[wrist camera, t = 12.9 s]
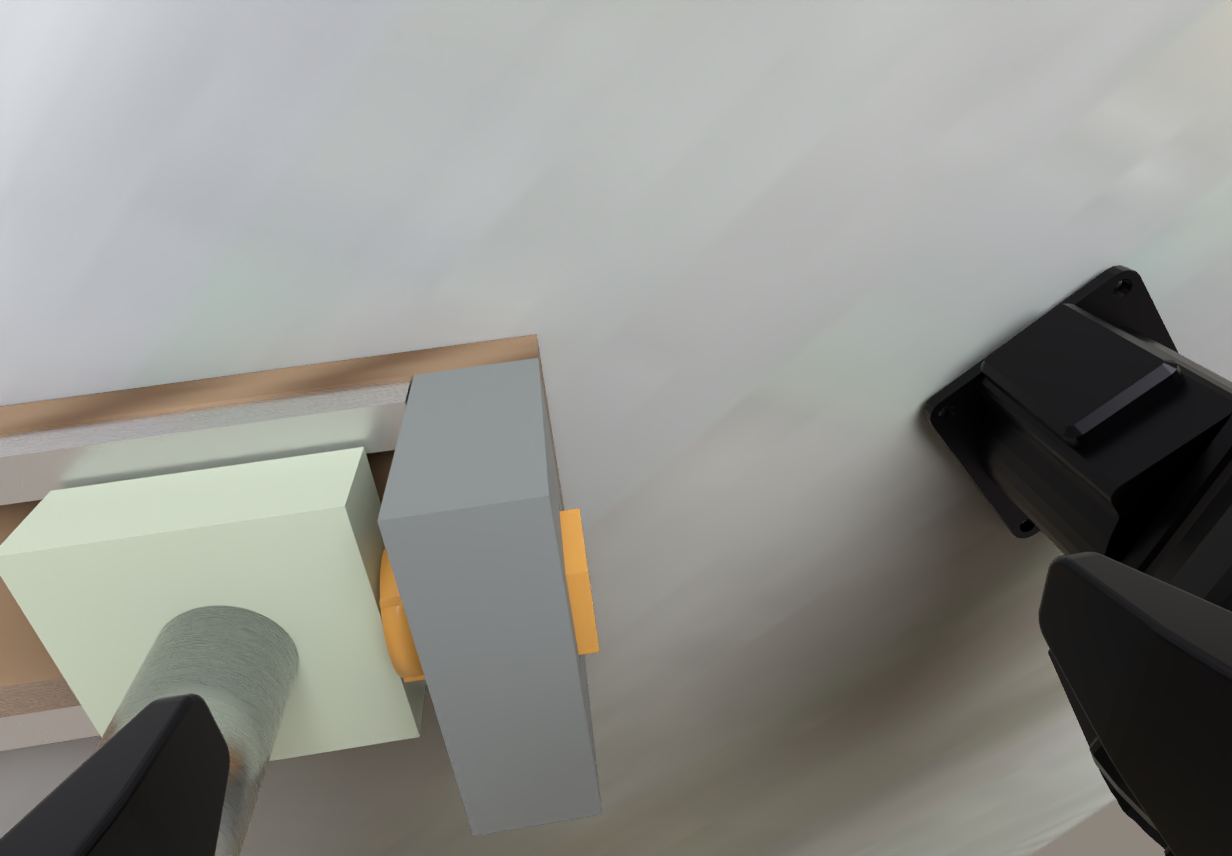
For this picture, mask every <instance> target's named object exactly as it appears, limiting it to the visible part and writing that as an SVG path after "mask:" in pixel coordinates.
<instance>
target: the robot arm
mask: <svg viewBox="0 0 1232 856" xmlns="http://www.w3.org/2000/svg"><path fill="white" fill-rule="evenodd" d="M1121 280H1122V283H1121V286H1120V287H1119V288H1118V289H1117V290H1115V291H1114V288H1115V285H1116V284H1117V283H1118V282H1119V281H1121ZM945 407H949V408H948V411H947V412H946V413H945V414H943V415H941V416H939V412H940V411H941V410H942V409H943V408H945ZM924 416H925V418H926V420H927V421H928V422H929V424H930V425H931V426H932V428H933V429H934V430H935V432H936V433H937V434H938V436H939V437H940V438H941V440H942V441H943V442H944V444H945V445H946V446H947V448H948V449H949V451H950V452H951V453H952V455H953V456H954V457H955V459H956V460H957V461H958V463H959V464H960V465H961V467H962V468H963V469H964V471H965V472H966V473H967V475H968V476H969V477H970V479H971V480H972V481H973V483H974V484H975V485H976V487H977V488H978V489H979V491H980V492H981V493H982V495H983V496H984V497H985V499H986V500H987V501H988V503H989V504H990V505H991V507H992V508H993V510H994V511H995V512H996V514H997V515H998V516H999V518H1000V519H1001V520H1002V522H1003V523H1004V524H1005V526H1006V527H1007V528H1008V529H1009V530H1010V531H1011V532H1012V533H1013V535H1015V536H1016V537H1018V538H1027V537H1030V536H1032V535H1034V534H1036V533H1037V532H1039V531H1040V530H1041V531H1042V532H1043V533H1044V534H1045V535H1046V536H1047V537H1048V538H1049V539H1050V540H1051V541H1052V542H1053V543H1054V544H1055V545H1056V546H1057V547H1058V548H1059V549H1060V550H1061V551H1062V552H1063V553H1064V554H1065V555H1062V556H1059V557H1056V558H1055V559H1054V560H1053V561H1052V562H1051V563H1050V566H1049V569H1048V573H1047V577H1046V582H1045V586H1044V591H1043V595H1042V599H1041V604H1040V608H1039V625H1040V629H1041V632H1042V634H1043V636H1044V639H1045V640H1046V642H1047V644H1048V646H1049V648H1050V650H1049V651H1048V653H1049V656H1050V658H1051V660H1052V663H1053V665H1054V667H1055V670H1056V672H1057V674H1058V676H1059V679H1060V681H1061V683H1062V685H1063V688H1064V690H1065V692H1066V695H1067V697H1068V699H1069V701H1070V704H1071V706H1072V708H1073V711H1074V713H1075V715H1076V717H1077V720H1078V722H1079V724H1080V726H1081V729H1082V731H1083V733H1084V736H1085V738H1086V740H1087V742H1088V745H1089V747H1090V751H1091V754H1092V757H1093V759H1094V762H1095V764H1096V765H1097V766H1098V768H1099V770H1100V772H1101V774H1102V776H1103V778H1104V780H1105V782H1106V783H1107V785H1108V787H1109V789H1110V791H1111V792H1112V794H1113V795H1114V796H1115V798H1116V799H1117V801H1118V803H1119V805H1120V807H1121V808H1122V810H1123V811H1124V812H1125V813H1126V814H1127V815H1128V816H1129V817H1130V818H1132V819H1133V820H1134V821H1135V822H1136V823H1137V824H1138V825H1139V826H1140V827H1141V828H1142V829H1143V830H1144V831H1145V832H1146V833H1147V834H1148V835H1149V836H1150V837H1152V838H1153V839H1154V840H1155V841H1156V842H1157V843H1158V844H1160V845H1161V846H1162V847H1163V848H1164V849H1165V851H1164V852H1165V856H1232V382H1230V381H1229V380H1227V379H1225V378H1223V377H1221V376H1219V375H1217V374H1216V373H1214V372H1212V371H1210V370H1208V369H1206V368H1204V367H1203V366H1201V365H1199V364H1197V363H1195V362H1193V361H1191V360H1190V359H1188V358H1186V357H1184V356H1182V355H1180V354H1179V353H1178V351H1177V349H1176V347H1175V345H1174V343H1173V341H1172V339H1171V337H1170V335H1169V333H1168V331H1167V329H1166V327H1165V325H1164V323H1163V321H1162V319H1161V317H1160V315H1159V313H1158V311H1157V309H1156V307H1155V305H1154V303H1153V301H1152V299H1151V297H1150V295H1149V293H1148V291H1147V289H1146V287H1145V285H1144V283H1143V281H1142V279H1141V277H1140V275H1139V274H1138V273H1137V272H1136V271H1134V270H1132V269H1129V268H1127V267H1124V266H1121V265H1119V266H1113V267H1111V268H1109V269H1107V270H1106V271H1104V272H1103V273H1101V274H1100V275H1099V276H1097V277H1096V278H1095V279H1093V280H1092V281H1090V282H1089V283H1088V284H1086V285H1085V286H1084V287H1082V288H1081V289H1080V290H1078V291H1077V292H1075V293H1074V294H1073V295H1071V296H1070V297H1069V298H1067V299H1066V300H1064V301H1063V302H1062V303H1060V304H1059V305H1058V306H1056V307H1055V308H1053V309H1052V310H1051V311H1049V312H1048V313H1047V314H1045V315H1044V316H1042V317H1041V318H1040V319H1038V320H1037V321H1036V322H1034V323H1033V324H1031V325H1030V326H1029V327H1027V328H1026V329H1025V330H1023V331H1022V332H1021V333H1019V334H1018V335H1016V336H1015V337H1014V338H1012V339H1011V340H1010V341H1008V342H1007V343H1005V344H1004V345H1003V346H1001V347H1000V348H999V349H997V350H996V351H994V352H993V353H992V354H990V355H989V356H988V357H986V358H985V359H983V360H982V361H981V362H979V363H978V364H977V365H975V366H974V367H972V368H971V369H970V370H968V371H967V372H966V373H964V374H963V375H962V376H960V377H959V378H957V379H956V380H955V381H953V382H952V383H951V384H949V385H948V386H946V387H945V388H944V389H942V390H941V391H940V392H938V393H937V394H935V395H934V396H933V397H932V398H931V399H930V400H929V401H928V402H927V403H926V405H925V407H924ZM1025 520H1026V521H1025ZM1023 521H1025V522H1024V523H1022V522H1023ZM1021 523H1022V524H1021ZM229 770H230V753H229V749H228V745H227V743H226V741H225V739H224V737H223V735H222V733H221V731H220V729H219V727H218V725H217V723H216V721H215V719H214V717H213V715H212V713H211V711H210V709H209V707H208V705H207V704H206V702H205V700H204V699H203V698H202V697H201V696H200V695H198V694H193V693H188V694H182V695H176V696H169V697H163V698H159V699H156V700H154V701H152V702H151V703H149V704H148V705H147V706H146V707H144V708H143V709H142V710H141V711H140V712H139V713H138V714H137V715H136V716H135V717H134V718H132V719H131V720H130V721H129V722H128V723H127V724H126V725H125V726H124V727H123V728H121V729H120V730H119V731H118V732H117V733H116V734H115V735H114V736H113V737H112V738H111V739H109V740H108V741H107V742H106V743H105V744H104V745H103V746H102V747H101V748H100V749H98V750H97V751H96V752H95V753H94V754H93V755H92V756H91V757H90V758H89V759H88V760H86V761H85V762H84V763H83V764H82V765H81V766H80V767H79V768H78V769H77V770H75V771H74V772H73V773H72V774H71V775H70V776H69V777H68V778H67V779H66V780H64V781H63V782H62V783H61V784H60V785H59V786H58V787H57V788H56V789H55V790H54V791H52V792H51V793H50V794H49V795H48V796H47V797H46V798H45V799H44V800H43V801H41V802H40V803H39V804H38V805H37V806H36V807H35V808H34V809H33V810H32V811H31V812H29V813H28V814H27V815H26V816H25V817H24V818H23V819H22V820H21V821H20V822H18V823H17V824H16V825H15V826H14V827H13V828H12V829H11V830H10V831H9V832H8V833H6V834H5V835H4V836H3V837H2V838H1V839H0V856H215V852H216V846H217V841H218V835H219V829H220V823H221V817H222V811H223V805H224V800H225V794H226V788H227V782H228V776H229Z"/></svg>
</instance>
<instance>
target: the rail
mask: <svg viewBox="0 0 1232 856" xmlns="http://www.w3.org/2000/svg"><path fill="white" fill-rule="evenodd" d="M359 447H364V449H365V452H366V456H367V459H368V462H369V466H370V469H371V473H372V476H373V479H374V483H375V486H376V489H377V493H378V496H379V499H380V503H381V508H380V512H379V516H378V520H377V522H378V525H379V528H380V531H381V535H382V538H383V541H384V545H385V548H386V551H387V555H388V558H389V561H390V564H391V568H392V571H393V574H394V578H395V581H396V584H397V587H398V591H399V594H400V597H401V601H402V604H403V607H404V610H405V614H406V617H407V620H408V624H409V627H410V630H411V634H412V637H413V640H414V643H415V647H416V650H417V653H418V657H419V660H420V663H421V666H422V670H423V673H424V676H425V680H426V684H427V686H428V689H429V693H430V696H431V699H432V703H433V706H434V709H435V713H436V716H437V719H438V722H439V726H440V729H441V732H442V736H443V739H444V742H445V745H446V749H447V752H448V755H449V759H450V762H451V765H452V768H453V772H454V775H455V778H456V782H457V785H458V788H459V791H460V795H461V798H462V801H463V805H464V808H465V811H466V815H467V818H468V821H469V824H470V828H471V831H472V834H473V836H478V835H484V834H489V833H495V832H501V831H507V830H513V829H519V828H525V827H531V826H537V825H543V824H548V823H554V822H560V821H566V820H572V819H578V818H584V817H590V816H596V815H602V809H601V800H600V791H599V782H598V773H597V765H596V756H595V747H594V738H593V729H592V720H591V711H590V702H589V693H588V684H587V675H586V666H585V657H584V654H583V655H579V653H578V647H577V641H576V635H575V629H574V622H573V616H572V610H571V604H570V598H569V592H568V586H567V580H566V574H565V564H564V553H563V543H562V532H561V522H560V511H564V506H563V500H562V494H561V487H560V481H559V475H558V468H557V462H556V455H555V449H554V443H553V436H552V430H551V424H550V417H549V411H548V404H547V398H546V392H545V385H544V379H543V372H542V366H541V360H540V353H539V347H538V341H537V334H536V335H529V336H521V337H514V338H506V339H499V340H491V341H484V342H477V343H469V344H462V345H454V346H447V347H439V348H432V349H424V350H417V351H410V352H402V353H395V354H387V355H380V356H372V357H365V358H357V359H350V360H342V361H335V362H328V363H320V364H313V365H305V366H298V367H290V368H283V369H275V370H268V371H261V372H253V373H246V374H238V375H231V376H223V377H216V378H208V379H201V380H194V381H186V382H179V383H171V384H164V385H156V386H149V387H141V388H134V389H127V390H119V391H112V392H104V393H97V394H89V395H82V396H74V397H67V398H59V399H52V400H45V401H37V402H30V403H22V404H15V405H7V406H0V545H1V544H2V543H3V542H4V541H5V540H6V539H7V538H8V536H9V535H10V534H11V533H12V532H13V531H14V530H15V529H16V528H17V527H18V526H19V525H20V524H21V522H22V521H23V520H24V519H25V518H26V517H27V516H28V515H29V514H30V513H31V512H32V511H33V509H34V508H35V507H36V506H37V505H38V504H39V503H40V502H41V501H42V500H43V499H44V498H45V496H46V495H47V494H48V493H49V492H50V491H53V490H60V489H67V488H75V487H82V486H89V485H96V484H103V483H110V482H117V481H124V480H131V479H139V478H146V477H153V476H160V475H167V474H174V473H181V472H188V471H195V470H203V469H210V468H217V467H224V466H231V465H238V464H245V463H252V462H259V461H267V460H274V459H281V458H288V457H295V456H302V455H309V454H316V453H323V452H331V451H338V450H345V449H352V448H359ZM93 736H100V734H99V733H98V731H97V730H96V728H95V726H94V725H93V723H92V722H91V720H90V718H89V717H88V715H87V714H86V712H85V710H84V709H83V707H82V706H81V704H80V702H79V701H78V699H77V698H76V696H75V694H74V693H73V691H72V690H71V688H70V686H69V685H68V683H67V682H66V680H65V678H64V677H63V675H62V674H61V672H60V670H59V669H58V667H57V666H56V664H55V662H54V661H53V659H52V658H51V656H50V654H49V653H48V651H47V650H46V648H45V646H44V645H43V643H42V642H41V640H40V638H39V637H38V635H37V634H36V632H35V630H34V629H33V627H32V626H31V624H30V622H29V621H28V619H27V618H26V616H25V614H24V613H23V611H22V610H21V608H20V606H19V605H18V603H17V602H16V600H15V598H14V597H13V595H12V594H11V592H10V590H9V589H8V587H7V586H6V584H5V582H4V581H3V579H2V578H1V576H0V751H5V750H11V749H17V748H24V747H30V746H36V745H43V744H49V743H55V742H62V741H68V740H74V739H81V738H87V737H93Z"/></svg>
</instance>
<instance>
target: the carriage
mask: <svg viewBox="0 0 1232 856" xmlns="http://www.w3.org/2000/svg"><path fill="white" fill-rule="evenodd" d="M380 508H381V503H380V499H379V496H378V493H377V489H376V486H375V483H374V479H373V476H372V473H371V469H370V466H369V462H368V459H367V456H366V452H365V449H364V447H359V448H352V449H345V450H338V451H331V452H323V453H316V454H309V455H302V456H295V457H288V458H281V459H274V460H267V461H259V462H252V463H245V464H238V465H231V466H224V467H217V468H210V469H203V470H195V471H188V472H181V473H174V474H167V475H160V476H153V477H146V478H139V479H131V480H124V481H117V482H110V483H103V484H96V485H89V486H82V487H75V488H67V489H60V490H53V491H50V492H49V493H48V494H47V495H46V496H45V498H44V499H43V500H42V501H41V502H40V503H39V504H38V505H37V506H36V507H35V508H34V509H33V511H32V512H31V513H30V514H29V515H28V516H27V517H26V518H25V519H24V520H23V521H22V522H21V524H20V525H19V526H18V527H17V528H16V529H15V530H14V531H13V532H12V533H11V534H10V535H9V536H8V538H7V539H6V540H5V541H4V542H3V543H2V544H1V545H0V576H1V578H2V579H3V581H4V582H5V584H6V586H7V587H8V589H9V590H10V592H11V594H12V595H13V597H14V598H15V600H16V602H17V603H18V605H19V606H20V608H21V610H22V611H23V613H24V614H25V616H26V618H27V619H28V621H29V622H30V624H31V626H32V627H33V629H34V630H35V632H36V634H37V635H38V637H39V638H40V640H41V642H42V643H43V645H44V646H45V648H46V650H47V651H48V653H49V654H50V656H51V658H52V659H53V661H54V662H55V664H56V666H57V667H58V669H59V670H60V672H61V674H62V675H63V677H64V678H65V680H66V682H67V683H68V685H69V686H70V688H71V690H72V691H73V693H74V694H75V696H76V698H77V699H78V701H79V702H80V704H81V706H82V707H83V709H84V710H85V712H86V714H87V715H88V717H89V718H90V720H91V722H92V723H93V725H94V726H95V728H96V730H97V731H98V733H99V734H100V736H101V740H100V742H99V744H98V745H97V747H96V749H95V751H94V753H95V752H96V751H97V750H98V749H100V748H101V747H102V746H103V745H104V744H105V743H106V742H107V741H108V740H109V739H111V738H112V737H113V736H114V735H115V734H116V733H117V732H118V731H119V730H120V729H121V728H123V727H124V726H125V725H126V724H127V723H128V722H129V721H130V720H131V719H132V718H134V717H135V716H136V715H137V714H138V713H139V712H140V711H141V710H142V709H143V708H144V707H146V706H147V705H148V704H149V703H151V702H152V701H154V700H156V699H159V698H163V697H169V696H176V695H182V694H188V693H193V694H198V695H200V696H201V697H202V698H203V699H204V700H205V702H206V704H207V705H208V707H209V709H210V711H211V713H212V715H213V717H214V719H215V721H216V723H217V725H218V727H219V729H220V731H221V733H222V735H223V737H224V739H225V741H226V743H227V745H228V749H229V753H230V770H229V776H228V782H227V788H226V794H225V800H224V805H223V811H222V817H221V823H220V829H219V835H218V841H217V846H216V852H215V856H239V855H240V852H241V849H242V845H243V842H244V839H245V836H246V833H247V829H248V826H249V823H250V820H251V817H252V814H253V810H254V807H255V804H256V801H257V798H258V794H259V791H260V788H261V785H262V782H263V779H264V775H265V772H266V769H267V766H268V763H269V761H274V760H281V759H287V758H293V757H299V756H305V755H311V754H318V753H324V752H330V751H336V750H342V749H349V748H355V747H361V746H367V745H373V744H379V743H386V742H392V741H398V740H404V739H410V738H417V737H420V732H421V723H422V715H423V707H424V699H425V690H426V680H425V679H424V680H418V681H411V682H404V679H403V678H402V677H400V676H399V675H398V674H397V672H396V671H395V669H394V667H393V664H392V662H391V659H390V656H389V653H388V649H387V645H386V641H385V636H384V630H383V624H382V616H381V608H380V604H379V602H380V567H381V559H382V554H383V550H384V547H385V545H384V541H383V538H382V535H381V531H380V528H379V525H378V522H377V520H378V516H379V512H380ZM94 753H93V754H94ZM93 754H92V755H93Z"/></svg>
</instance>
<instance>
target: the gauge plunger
mask: <svg viewBox="0 0 1232 856" xmlns="http://www.w3.org/2000/svg"><path fill="white" fill-rule="evenodd" d="M560 522H561V532H562V543H563V553H564V564H565V574H566V580H567V586H568V592H569V598H570V604H571V610H572V616H573V622H574V629H575V635H576V641H577V647H578V653H579V655H583V654H589V653H595V652H600V651H599V644H598V637H597V629H596V622H595V615H594V607H593V600H592V593H591V585H590V578H589V571H588V564H587V557H586V551H585V544H584V537H583V530H582V523H581V516H580V509H572V510H565V511H560ZM379 604H380V608H381V616H382V624H383V630H384V636H385V641H386V645H387V649H388V653H389V656H390V659H391V662H392V664H393V667H394V669H395V671H396V672H397V674H398V675H399V676H400V677H402V678H403V679H404V682H411V681H418V680H424V679H425V676H424V673H423V670H422V666H421V663H420V660H419V657H418V653H417V650H416V647H415V643H414V640H413V637H412V634H411V630H410V627H409V624H408V620H407V617H406V614H405V610H404V607H403V604H402V601H401V597H400V594H399V591H398V587H397V584H396V581H395V578H394V574H393V571H392V568H391V564H390V561H389V558H388V555H387V551H386V548H385V547H384V550H383V554H382V559H381V567H380V602H379Z"/></svg>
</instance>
